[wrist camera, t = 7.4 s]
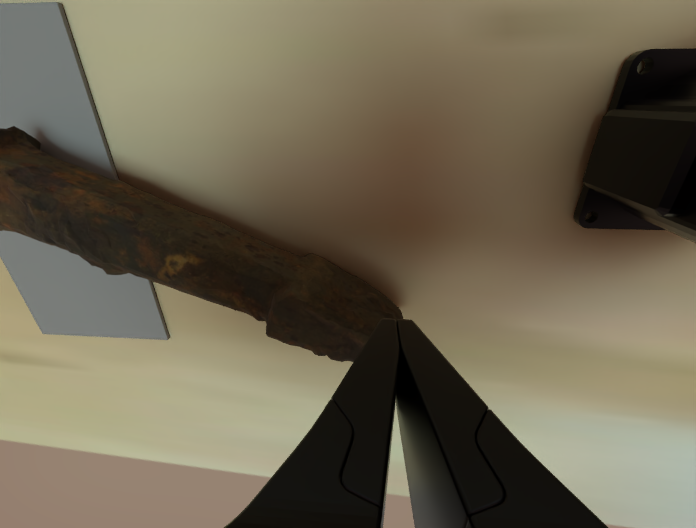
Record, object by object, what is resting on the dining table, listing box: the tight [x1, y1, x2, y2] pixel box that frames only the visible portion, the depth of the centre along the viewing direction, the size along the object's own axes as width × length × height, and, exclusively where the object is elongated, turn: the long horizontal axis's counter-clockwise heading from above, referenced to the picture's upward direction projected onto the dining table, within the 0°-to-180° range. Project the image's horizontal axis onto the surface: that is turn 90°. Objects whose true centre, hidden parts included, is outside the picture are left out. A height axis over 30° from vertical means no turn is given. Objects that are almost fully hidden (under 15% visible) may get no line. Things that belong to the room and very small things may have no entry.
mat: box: [0, 2, 170, 340], centre depth 16 cm, size 8×16×1 cm, turn 0°
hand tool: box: [0, 126, 403, 362], centre depth 14 cm, size 19×4×5 cm, turn 65°
